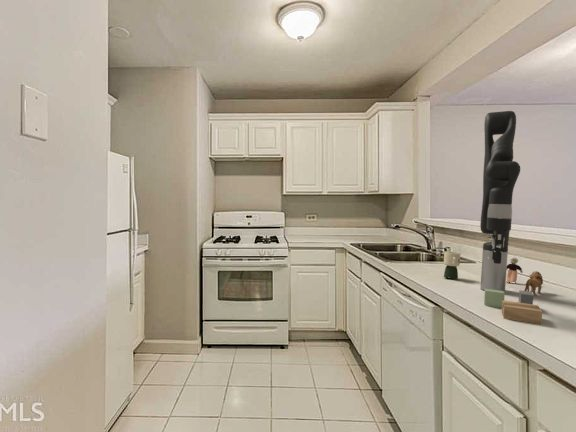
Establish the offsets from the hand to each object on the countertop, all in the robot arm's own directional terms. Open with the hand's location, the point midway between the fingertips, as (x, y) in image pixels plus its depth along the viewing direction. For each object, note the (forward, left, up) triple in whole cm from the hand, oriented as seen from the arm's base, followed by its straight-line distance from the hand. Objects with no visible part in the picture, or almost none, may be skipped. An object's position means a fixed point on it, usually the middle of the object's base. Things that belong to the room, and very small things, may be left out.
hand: (496, 261), depth 126 cm
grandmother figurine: (-50, +11, -16) cm, 54 cm away
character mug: (-42, -16, -16) cm, 48 cm away
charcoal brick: (-4, +10, -16) cm, 19 cm away
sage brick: (0, 0, -16) cm, 16 cm away
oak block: (+11, +7, -16) cm, 21 cm away
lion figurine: (-31, +16, -16) cm, 39 cm away
